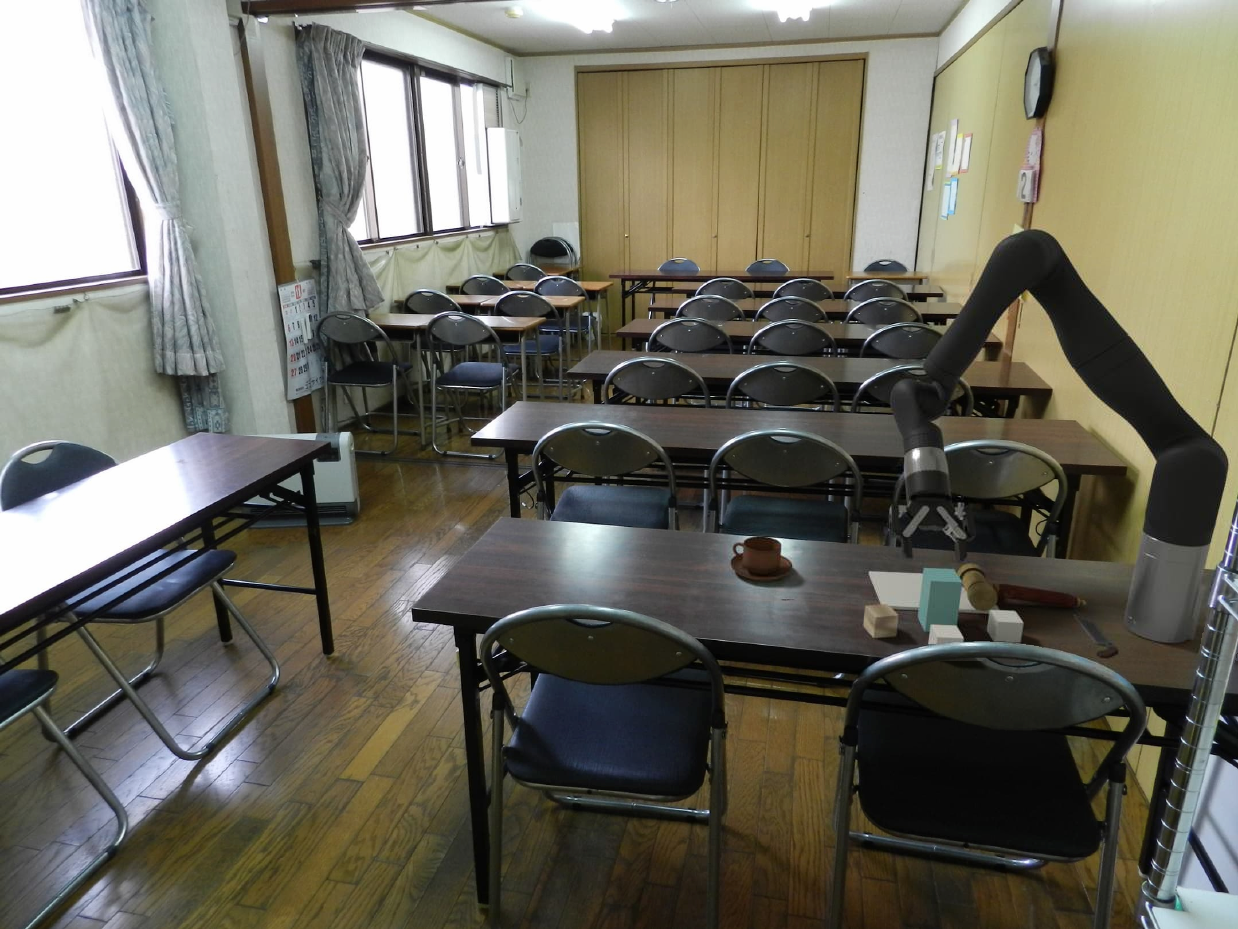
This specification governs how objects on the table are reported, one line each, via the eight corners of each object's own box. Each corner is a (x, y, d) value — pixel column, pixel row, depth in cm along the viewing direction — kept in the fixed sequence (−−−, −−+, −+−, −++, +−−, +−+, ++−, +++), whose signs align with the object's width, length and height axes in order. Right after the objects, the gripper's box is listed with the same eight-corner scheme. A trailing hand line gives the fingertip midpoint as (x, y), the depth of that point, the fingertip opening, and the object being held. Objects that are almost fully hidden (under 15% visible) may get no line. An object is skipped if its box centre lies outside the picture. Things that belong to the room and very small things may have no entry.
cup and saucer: (726, 582, 154) (728, 553, 152) (733, 557, 165) (734, 529, 163) (790, 589, 151) (792, 559, 149) (793, 562, 162) (794, 534, 160)
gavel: (1079, 579, 146) (1101, 605, 136) (1072, 601, 147) (1093, 628, 138) (959, 561, 148) (973, 585, 139) (954, 583, 150) (967, 608, 140)
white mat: (975, 578, 154) (976, 575, 153) (999, 614, 140) (1000, 611, 140) (868, 574, 156) (869, 571, 156) (882, 608, 143) (883, 605, 143)
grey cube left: (1011, 632, 135) (1015, 611, 134) (1020, 644, 131) (1023, 622, 130) (986, 631, 135) (990, 609, 134) (994, 643, 132) (997, 621, 130)
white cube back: (953, 647, 130) (956, 625, 129) (960, 660, 127) (963, 638, 125) (928, 646, 131) (930, 624, 130) (934, 659, 127) (937, 637, 126)
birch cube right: (885, 624, 138) (887, 603, 136) (896, 636, 134) (898, 615, 133) (863, 626, 137) (865, 605, 136) (873, 638, 133) (875, 617, 132)
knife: (1124, 661, 127) (1125, 657, 126) (1097, 659, 127) (1098, 655, 127) (1089, 617, 140) (1089, 614, 140) (1064, 616, 140) (1065, 612, 140)
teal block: (947, 618, 139) (954, 569, 136) (955, 633, 135) (962, 582, 132) (917, 617, 140) (923, 567, 137) (924, 631, 135) (930, 581, 132)
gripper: (890, 466, 144) (897, 551, 136) (973, 469, 142) (984, 555, 135) (882, 484, 150) (888, 566, 143) (961, 487, 149) (971, 570, 141)
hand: (935, 561), depth 139 cm, fingers open, 8 cm apart
